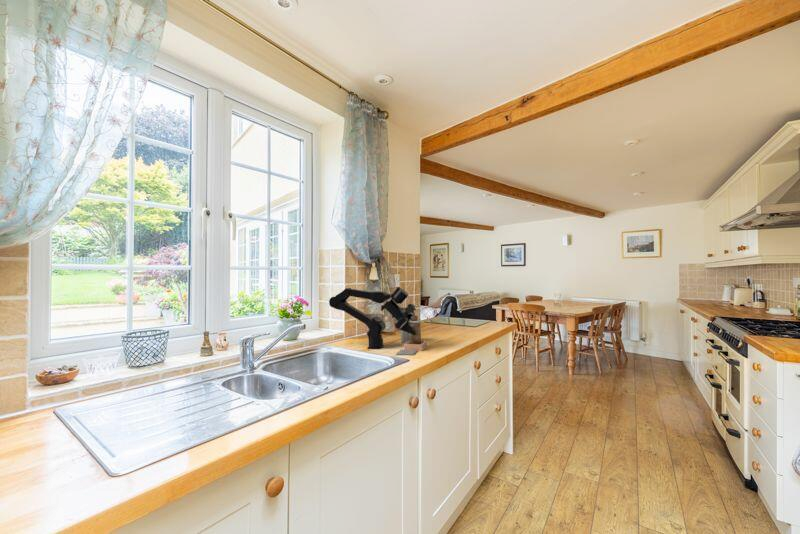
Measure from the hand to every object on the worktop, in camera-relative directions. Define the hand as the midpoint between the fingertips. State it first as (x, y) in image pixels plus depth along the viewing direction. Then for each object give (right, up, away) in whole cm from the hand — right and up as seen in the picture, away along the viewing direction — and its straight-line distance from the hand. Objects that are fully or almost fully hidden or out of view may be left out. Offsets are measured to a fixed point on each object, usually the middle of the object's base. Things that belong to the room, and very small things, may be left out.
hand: (417, 332), depth 166 cm
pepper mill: (-1, -8, 0) cm, 8 cm away
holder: (-1, -8, 0) cm, 8 cm away
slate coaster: (-5, -8, -8) cm, 13 cm away
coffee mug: (-2, -9, +18) cm, 20 cm away
